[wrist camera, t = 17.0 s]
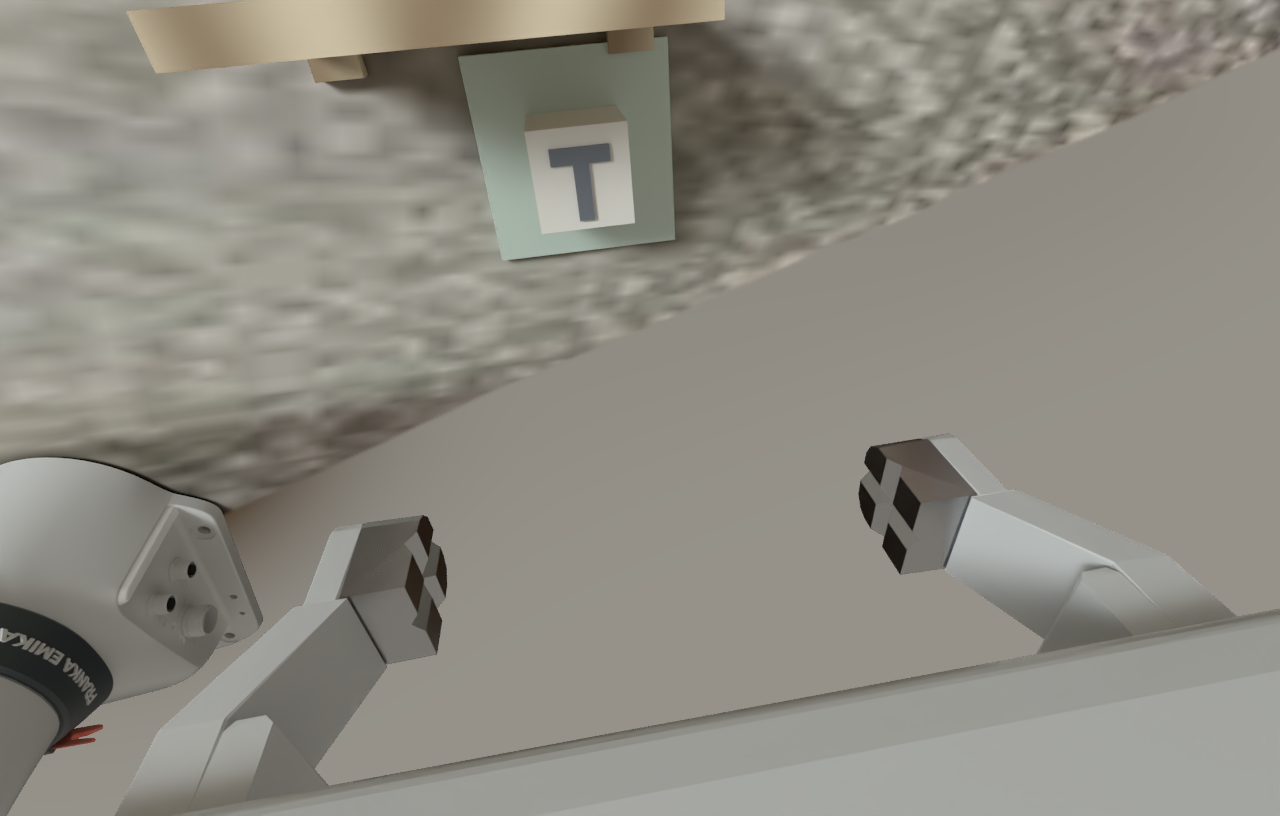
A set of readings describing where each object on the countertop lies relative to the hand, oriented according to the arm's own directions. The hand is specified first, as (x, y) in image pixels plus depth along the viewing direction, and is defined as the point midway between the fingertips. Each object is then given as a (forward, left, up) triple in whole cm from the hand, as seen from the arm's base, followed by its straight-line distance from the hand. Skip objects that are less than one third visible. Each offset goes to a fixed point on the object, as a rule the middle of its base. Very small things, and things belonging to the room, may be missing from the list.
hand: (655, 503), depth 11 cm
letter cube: (0, 0, -28) cm, 28 cm away
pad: (0, 0, -29) cm, 29 cm away
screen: (+7, +4, -29) cm, 30 cm away
